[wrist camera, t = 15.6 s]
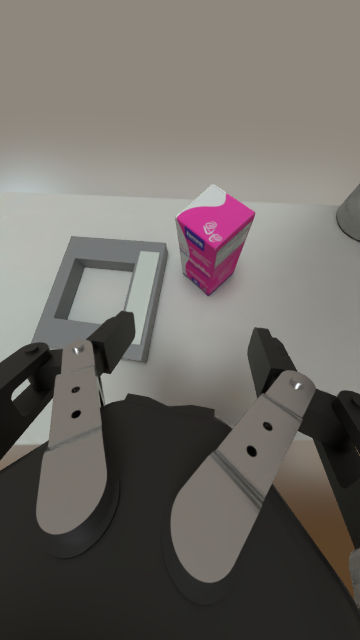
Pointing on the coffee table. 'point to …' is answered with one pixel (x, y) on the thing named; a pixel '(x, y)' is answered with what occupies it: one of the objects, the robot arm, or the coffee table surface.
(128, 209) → the coffee table surface
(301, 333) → the coffee table surface
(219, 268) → the supplement box
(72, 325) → the divided tray
